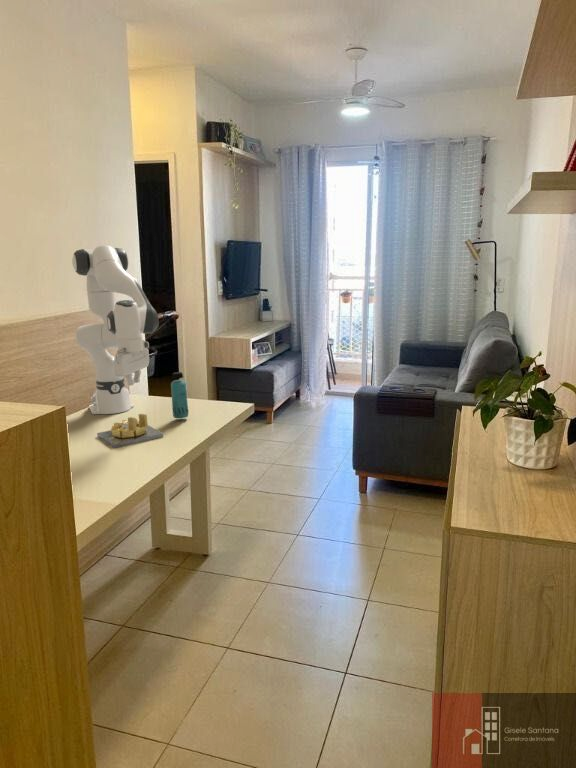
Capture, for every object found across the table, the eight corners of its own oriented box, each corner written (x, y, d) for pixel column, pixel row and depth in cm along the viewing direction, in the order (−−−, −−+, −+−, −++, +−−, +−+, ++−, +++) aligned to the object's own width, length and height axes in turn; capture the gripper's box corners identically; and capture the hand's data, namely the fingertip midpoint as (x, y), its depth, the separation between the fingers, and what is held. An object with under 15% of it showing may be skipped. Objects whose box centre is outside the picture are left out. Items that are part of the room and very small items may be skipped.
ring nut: (105, 434, 211) (103, 416, 210) (131, 425, 221) (129, 408, 220) (128, 439, 204) (126, 421, 203) (154, 430, 214) (152, 412, 213)
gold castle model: (97, 436, 215) (95, 424, 214) (144, 426, 226) (143, 414, 225) (113, 448, 201) (112, 434, 200) (163, 437, 212) (162, 424, 211)
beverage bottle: (170, 421, 232) (166, 373, 228) (178, 417, 238) (174, 370, 234) (184, 422, 230) (180, 374, 225) (192, 418, 236) (188, 371, 232)
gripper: (124, 351, 192) (128, 390, 195) (150, 341, 212) (154, 377, 215) (107, 351, 194) (111, 390, 197) (135, 342, 213) (138, 377, 216)
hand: (134, 383), depth 206 cm, fingers open, 3 cm apart
